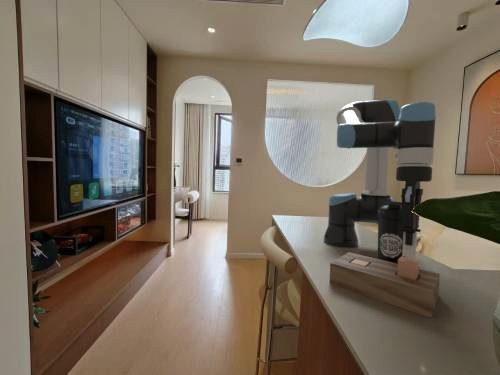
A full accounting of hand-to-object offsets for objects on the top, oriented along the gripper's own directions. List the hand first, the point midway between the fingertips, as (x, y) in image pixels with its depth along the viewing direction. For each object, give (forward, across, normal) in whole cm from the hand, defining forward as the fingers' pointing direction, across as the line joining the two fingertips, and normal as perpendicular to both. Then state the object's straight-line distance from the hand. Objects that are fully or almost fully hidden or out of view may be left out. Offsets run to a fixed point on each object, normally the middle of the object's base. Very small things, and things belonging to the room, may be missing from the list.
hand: (408, 256), depth 62 cm
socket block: (+11, 0, -6) cm, 12 cm away
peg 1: (+11, 0, -12) cm, 16 cm away
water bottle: (+11, -18, -8) cm, 23 cm away
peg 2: (+7, 0, 0) cm, 7 cm away
